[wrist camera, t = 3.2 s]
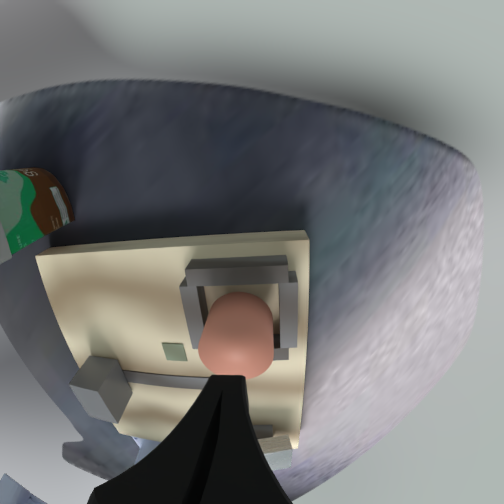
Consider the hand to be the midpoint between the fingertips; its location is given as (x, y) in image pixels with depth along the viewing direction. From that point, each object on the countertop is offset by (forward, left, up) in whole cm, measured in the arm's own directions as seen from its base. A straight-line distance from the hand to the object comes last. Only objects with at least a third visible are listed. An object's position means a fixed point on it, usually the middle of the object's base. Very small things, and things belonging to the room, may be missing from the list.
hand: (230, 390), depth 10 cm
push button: (0, 0, -5) cm, 5 cm away
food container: (+9, +17, -9) cm, 21 cm away
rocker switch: (-14, 0, -4) cm, 15 cm away
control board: (-7, +6, -9) cm, 13 cm away
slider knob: (-7, +12, -7) cm, 15 cm away
